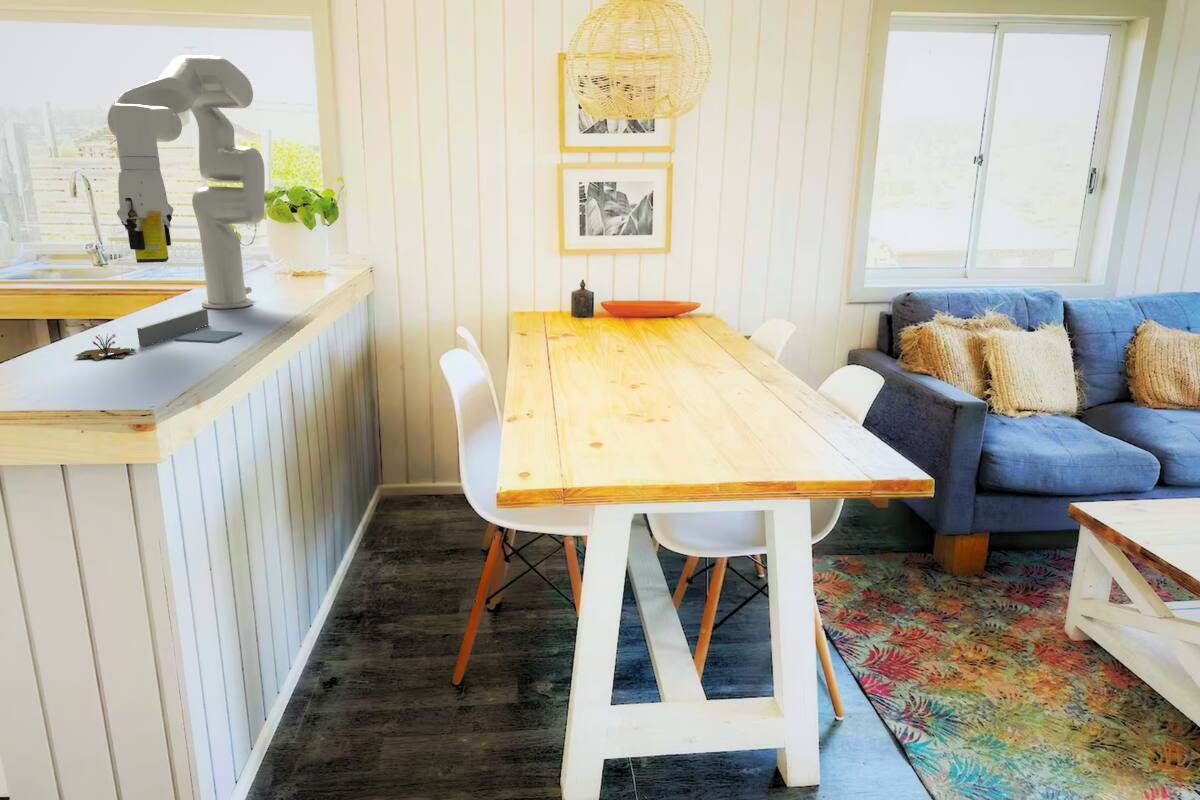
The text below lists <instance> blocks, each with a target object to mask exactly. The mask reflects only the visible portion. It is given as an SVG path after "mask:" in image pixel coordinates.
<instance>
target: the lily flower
mask: <svg viewBox="0 0 1200 800" xmlns="http://www.w3.org/2000/svg"><path fill="white" fill-rule="evenodd" d="M99 337H100V338H99ZM115 337H117V336H116V334H115V333H114V334H113V335H111V337H109V338H108V333H107V334H106V336H105V338H106V339H105V343H104V339H103V337H101V336H100V334H98V335H95V338H96V339H97V340H98V341H99V342H100V345H99V344H98V343H96V341H94V340H93V341H92V344H93V345H94V346H96V347H98V348H97V349H88V350H87V349H86V350H84V351H82V352H80V353H78V354H76V356H77V357H76V358H75V360H81V359H89V358H93V359H94V360H95V361H96V362H97V361H99V360H100V359H103V358H106V357H110V356H109V355H110V354H111V353H114V354H115V355H117V357H116V358H119V359H124V357H125V354H137V352H136V351H134V350H130V349H131V348H129V347H127V348H121V346H119V347H111V346H112V345H114V344H116V341H115V340H113V341H111V340H112V339H113V338H115ZM110 341H111V342H110ZM101 346H102V347H101ZM120 353H121V354H120ZM99 354H101V355H99ZM114 354H111V356H114ZM91 356H92V357H91ZM88 357H89V358H88Z"/></svg>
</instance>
